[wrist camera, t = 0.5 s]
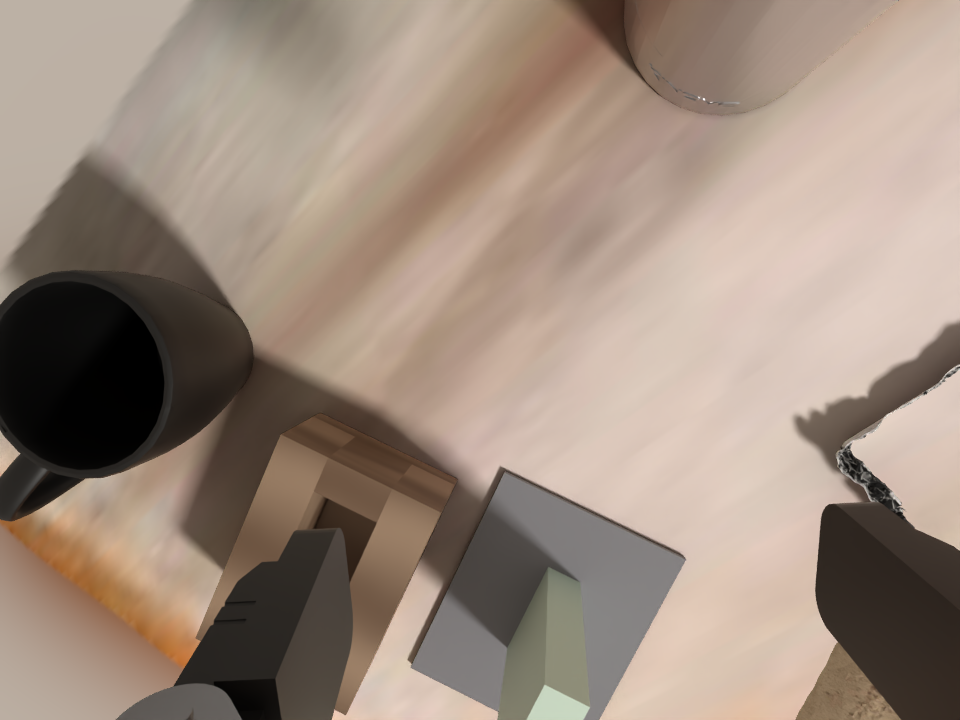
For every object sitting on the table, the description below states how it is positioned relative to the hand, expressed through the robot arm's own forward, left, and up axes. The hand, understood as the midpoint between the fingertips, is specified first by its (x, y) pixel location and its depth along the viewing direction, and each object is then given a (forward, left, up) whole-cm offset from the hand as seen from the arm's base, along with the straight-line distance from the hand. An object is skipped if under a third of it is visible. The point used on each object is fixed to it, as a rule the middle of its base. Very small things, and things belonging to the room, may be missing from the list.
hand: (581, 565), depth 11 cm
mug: (+9, -18, -22) cm, 30 cm away
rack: (+13, -7, -22) cm, 26 cm away
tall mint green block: (+12, +4, -22) cm, 25 cm away
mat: (+12, +4, -22) cm, 25 cm away
